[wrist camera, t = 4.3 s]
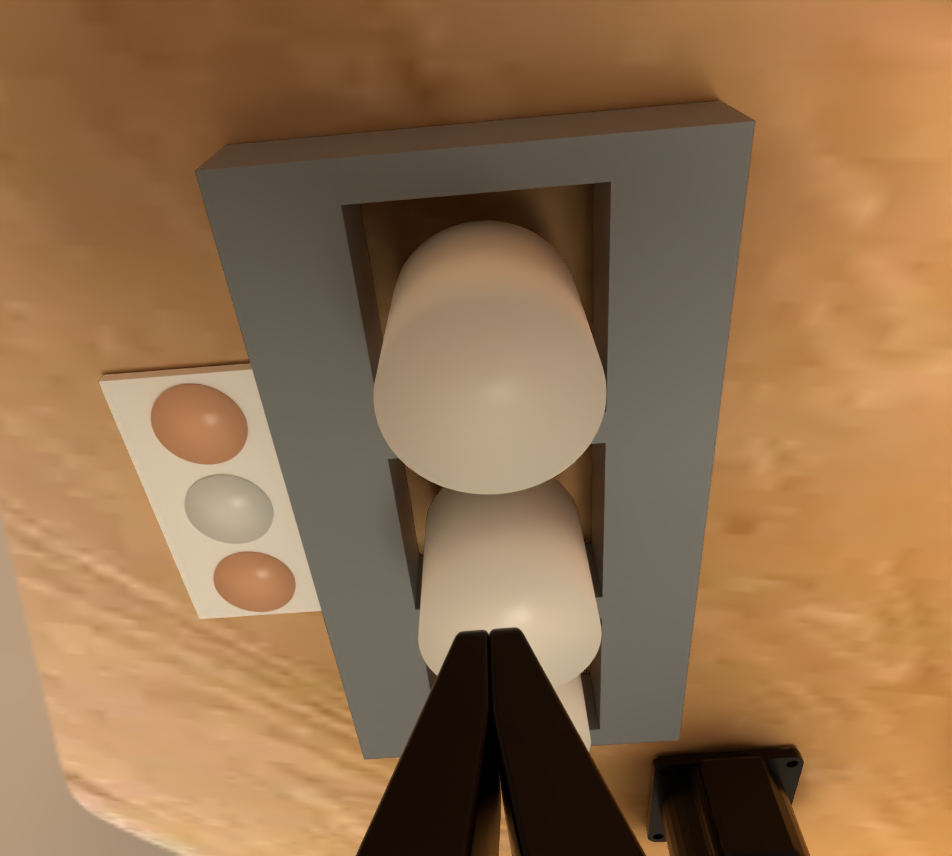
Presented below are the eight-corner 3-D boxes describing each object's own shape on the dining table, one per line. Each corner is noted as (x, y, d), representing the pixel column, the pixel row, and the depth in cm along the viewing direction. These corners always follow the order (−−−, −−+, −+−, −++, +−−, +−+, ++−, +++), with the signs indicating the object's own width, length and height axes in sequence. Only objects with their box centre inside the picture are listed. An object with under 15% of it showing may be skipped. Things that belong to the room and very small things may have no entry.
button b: (579, 575, 23) (600, 692, 19) (434, 585, 23) (429, 702, 20) (578, 458, 20) (602, 567, 17) (416, 470, 21) (406, 581, 17)
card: (336, 601, 27) (334, 613, 26) (202, 610, 27) (197, 622, 26) (272, 361, 21) (267, 370, 21) (103, 374, 21) (96, 384, 21)
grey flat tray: (664, 684, 29) (679, 740, 27) (371, 702, 30) (364, 759, 28) (719, 100, 17) (754, 120, 15) (226, 144, 18) (194, 170, 16)
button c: (578, 385, 19) (604, 486, 16) (404, 398, 19) (391, 501, 16) (577, 212, 17) (608, 284, 13) (378, 228, 17) (354, 305, 13)
